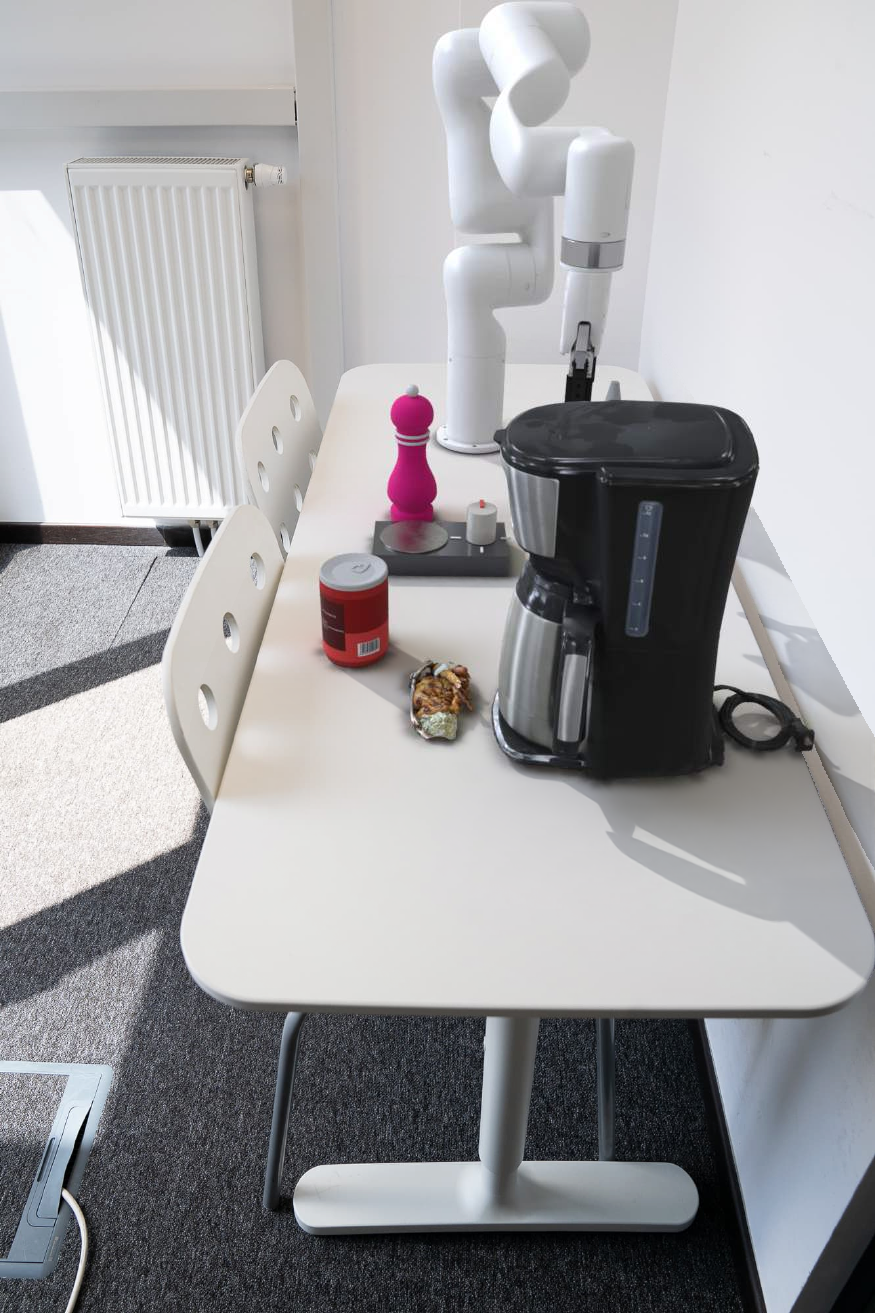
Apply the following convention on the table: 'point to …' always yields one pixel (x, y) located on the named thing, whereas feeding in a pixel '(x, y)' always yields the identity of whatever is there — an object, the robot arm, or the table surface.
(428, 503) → the pepper mill
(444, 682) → the foil-wrapped kebab
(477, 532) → the hob knob
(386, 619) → the canned food
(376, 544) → the hot plate
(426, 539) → the burner plate
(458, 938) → the table surface
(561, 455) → the coffee maker
